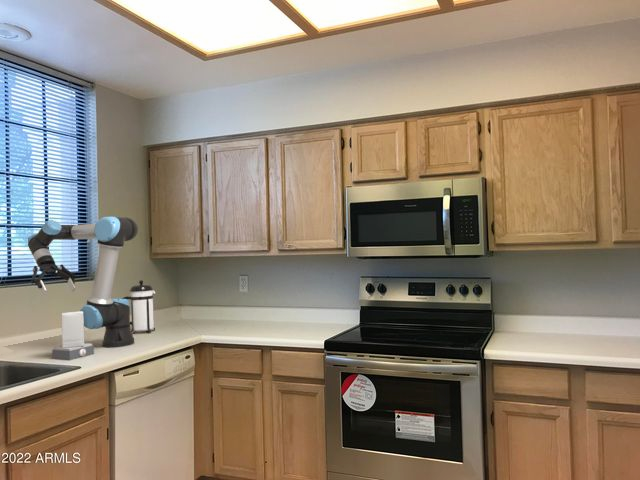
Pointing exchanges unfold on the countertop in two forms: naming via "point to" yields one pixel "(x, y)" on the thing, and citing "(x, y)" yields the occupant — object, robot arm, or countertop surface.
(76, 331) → the supplement box
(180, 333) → the countertop surface
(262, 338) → the countertop surface
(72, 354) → the kitchen scale
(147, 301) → the coffee press
